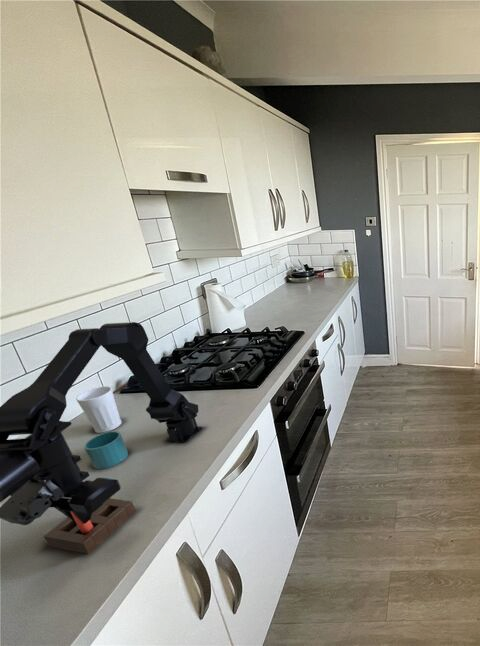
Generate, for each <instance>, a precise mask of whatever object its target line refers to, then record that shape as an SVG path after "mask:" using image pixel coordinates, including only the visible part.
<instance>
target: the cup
mask: <svg viewBox="0 0 480 646" xmlns="http://www.w3.org/2000/svg"><path fill="white" fill-rule="evenodd" d="M75 400H76V401H77V403H78V405H79V406H80V408H81V410H82V411H83V413H84V414H85V416H86V418H87V420H88V421H89V423H90V424H91V426H92V428H93V430H94V432H95V433H97V434H103V433H107V432H111V431H113V430H114V429H116V428H118V427H119V426H121V424H122V419H121V417H120V414H119V410H118V406H117V403H116V400H115V396H114V391H113V389H112V387H111V386H109V385H108V386H107V385H104V386H98V387H94V388H91V389H87V390H86V391H83V392H81V393H79V394H78V395H77V396H76V397H75Z"/></svg>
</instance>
